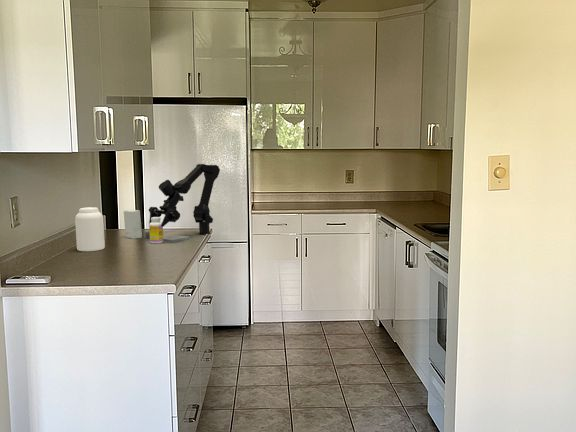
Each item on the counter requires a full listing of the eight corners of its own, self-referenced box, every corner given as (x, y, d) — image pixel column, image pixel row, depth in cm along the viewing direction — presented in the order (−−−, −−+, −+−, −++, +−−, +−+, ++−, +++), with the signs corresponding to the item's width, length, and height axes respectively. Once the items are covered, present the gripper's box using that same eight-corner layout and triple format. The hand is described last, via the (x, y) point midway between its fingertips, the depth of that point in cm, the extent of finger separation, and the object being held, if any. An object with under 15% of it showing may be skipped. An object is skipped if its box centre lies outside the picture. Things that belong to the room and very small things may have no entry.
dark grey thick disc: (145, 237, 292) (145, 231, 291) (161, 236, 293) (160, 230, 293) (144, 239, 284) (144, 233, 283) (160, 238, 285) (160, 232, 285)
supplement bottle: (159, 244, 269) (158, 218, 268) (147, 243, 271) (146, 218, 269) (165, 241, 276) (164, 216, 274) (153, 241, 277) (152, 216, 276)
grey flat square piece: (174, 237, 290) (174, 234, 290) (189, 238, 283) (189, 236, 283) (156, 240, 281) (156, 238, 281) (172, 242, 274) (172, 239, 274)
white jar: (104, 250, 253) (102, 208, 250) (76, 252, 249) (73, 209, 247) (105, 246, 265) (102, 205, 262) (77, 248, 261) (75, 207, 258)
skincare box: (142, 237, 289) (141, 210, 288) (132, 239, 285) (130, 211, 283) (134, 236, 295) (133, 209, 294) (124, 237, 291) (123, 210, 289)
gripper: (192, 213, 279) (177, 236, 272) (168, 211, 290) (152, 234, 283) (180, 198, 272) (164, 223, 265) (156, 197, 283) (140, 220, 276)
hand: (155, 225), depth 272 cm, fingers open, 9 cm apart
